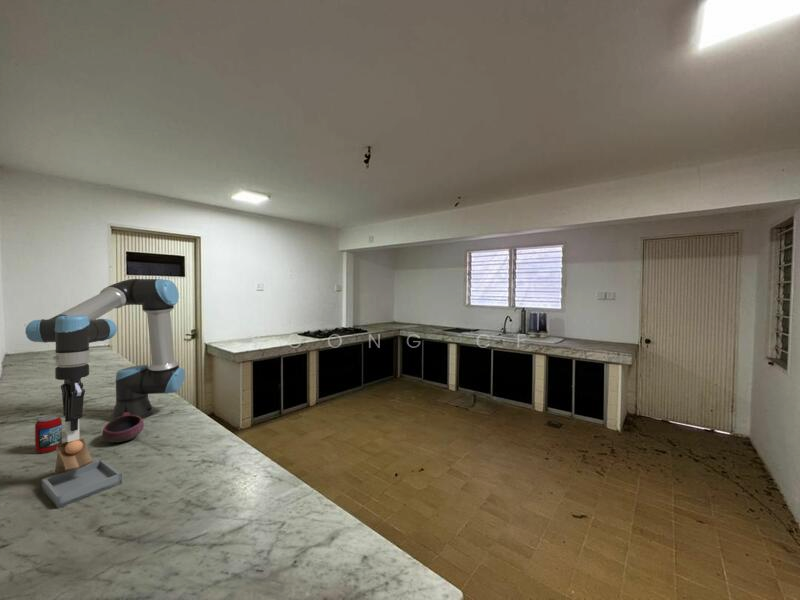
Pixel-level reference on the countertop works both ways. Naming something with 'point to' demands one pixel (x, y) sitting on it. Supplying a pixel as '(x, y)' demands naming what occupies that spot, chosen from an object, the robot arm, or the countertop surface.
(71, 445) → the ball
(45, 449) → the beverage can
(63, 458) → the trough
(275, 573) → the countertop surface
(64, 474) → the tray
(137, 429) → the bowl
